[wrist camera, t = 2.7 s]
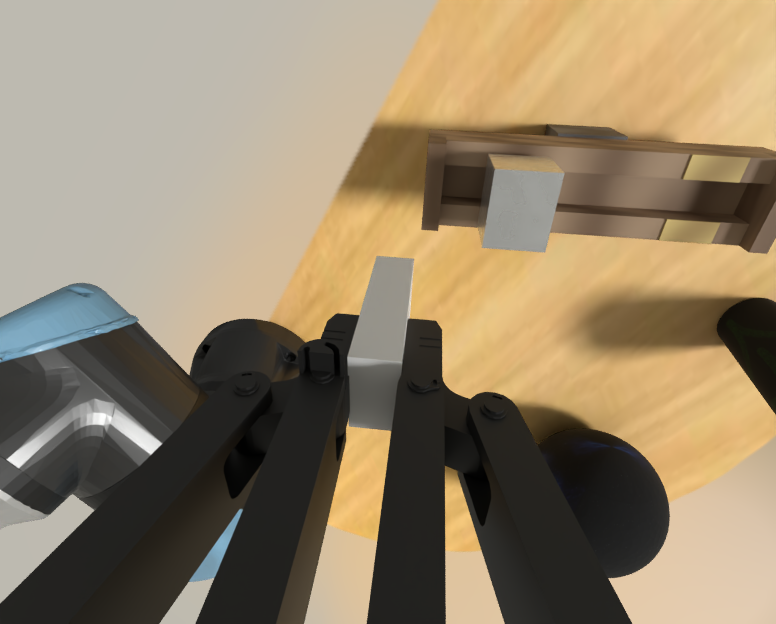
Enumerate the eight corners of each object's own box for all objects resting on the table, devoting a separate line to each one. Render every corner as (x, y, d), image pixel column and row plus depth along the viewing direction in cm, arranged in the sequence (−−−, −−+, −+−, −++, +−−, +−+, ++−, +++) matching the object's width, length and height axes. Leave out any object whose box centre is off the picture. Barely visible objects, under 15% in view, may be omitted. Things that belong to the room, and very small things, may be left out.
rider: (474, 213, 34) (481, 247, 28) (484, 145, 31) (494, 168, 25) (527, 216, 33) (544, 252, 28) (541, 148, 31) (564, 173, 25)
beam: (424, 194, 40) (421, 232, 32) (430, 118, 36) (428, 140, 28) (699, 211, 38) (765, 256, 30) (732, 134, 35) (817, 161, 27)
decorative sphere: (517, 398, 51) (543, 515, 39) (652, 404, 50) (724, 528, 37) (504, 480, 59) (521, 600, 47) (619, 487, 58) (670, 613, 45)
